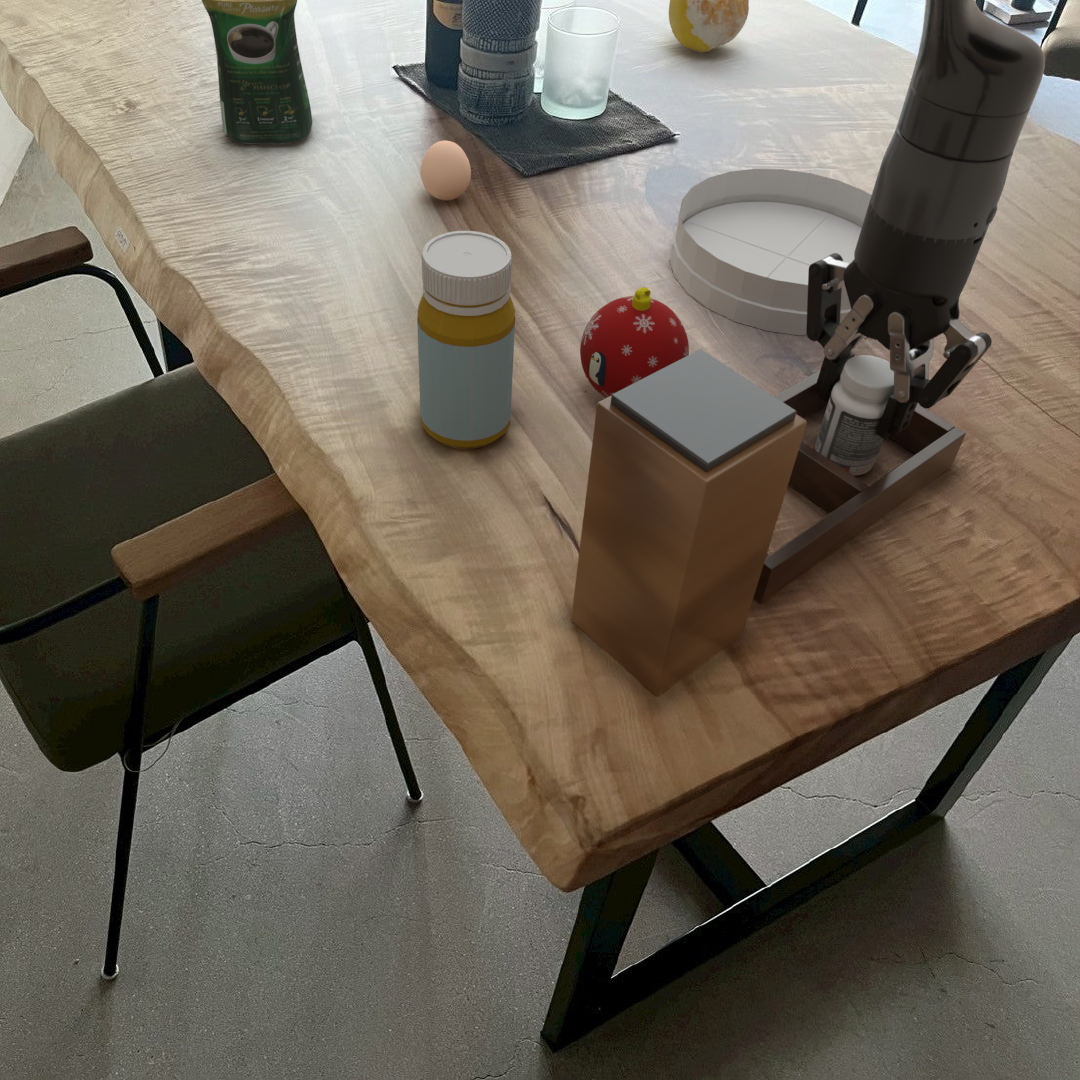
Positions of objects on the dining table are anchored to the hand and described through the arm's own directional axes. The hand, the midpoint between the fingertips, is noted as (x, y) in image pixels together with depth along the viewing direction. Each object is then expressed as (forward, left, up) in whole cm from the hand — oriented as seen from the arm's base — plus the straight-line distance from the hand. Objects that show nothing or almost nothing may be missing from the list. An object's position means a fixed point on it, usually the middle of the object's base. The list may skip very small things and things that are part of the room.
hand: (858, 414), depth 79 cm
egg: (+51, 0, -5) cm, 51 cm away
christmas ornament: (+16, +8, -5) cm, 18 cm away
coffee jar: (+74, +7, -5) cm, 74 cm away
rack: (0, +5, -4) cm, 7 cm away
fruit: (+64, -53, -5) cm, 83 cm away
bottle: (+21, +21, -5) cm, 30 cm away
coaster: (-3, +24, +14) cm, 28 cm away
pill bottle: (0, 0, -5) cm, 5 cm away
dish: (+21, -18, -5) cm, 28 cm away
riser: (-3, +24, -4) cm, 25 cm away
